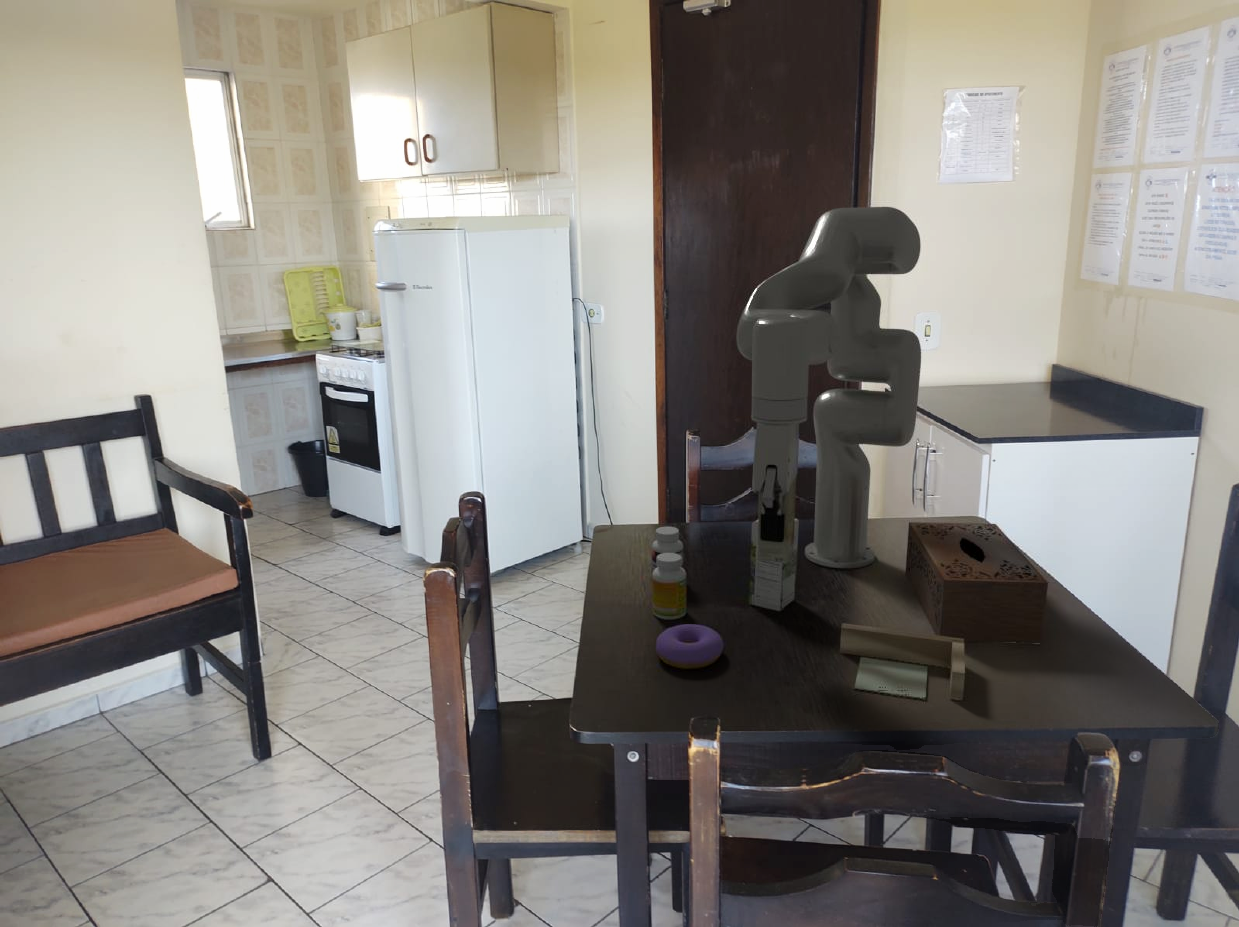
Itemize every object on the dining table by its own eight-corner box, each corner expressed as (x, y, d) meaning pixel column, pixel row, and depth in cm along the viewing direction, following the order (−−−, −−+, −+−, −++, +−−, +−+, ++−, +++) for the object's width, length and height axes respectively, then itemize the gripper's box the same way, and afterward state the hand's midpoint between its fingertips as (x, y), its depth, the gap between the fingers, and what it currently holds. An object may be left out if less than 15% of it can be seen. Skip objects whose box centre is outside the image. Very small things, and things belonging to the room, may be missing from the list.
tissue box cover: (1040, 646, 128) (1048, 582, 126) (938, 642, 130) (943, 580, 127) (990, 577, 153) (995, 523, 150) (905, 575, 155) (908, 522, 152)
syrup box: (764, 592, 148) (766, 511, 144) (796, 600, 145) (799, 517, 141) (748, 604, 144) (750, 521, 140) (781, 613, 140) (784, 527, 137)
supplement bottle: (683, 621, 138) (683, 564, 136) (650, 619, 139) (649, 562, 137) (688, 607, 143) (688, 551, 141) (655, 605, 144) (655, 550, 142)
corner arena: (841, 648, 128) (842, 623, 127) (961, 664, 123) (963, 638, 122) (831, 686, 118) (832, 659, 117) (962, 706, 112) (965, 678, 111)
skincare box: (787, 565, 122) (789, 481, 118) (756, 562, 123) (757, 478, 120) (794, 549, 127) (797, 468, 124) (765, 546, 129) (766, 466, 126)
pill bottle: (646, 581, 154) (645, 529, 151) (669, 574, 157) (668, 522, 155) (665, 591, 150) (665, 537, 147) (689, 583, 153) (689, 530, 150)
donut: (685, 678, 120) (680, 644, 120) (645, 666, 128) (640, 634, 127) (738, 657, 126) (734, 624, 125) (697, 646, 133) (693, 616, 133)
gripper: (764, 395, 128) (762, 511, 133) (738, 421, 113) (737, 551, 118) (815, 397, 126) (811, 515, 131) (797, 424, 110) (793, 557, 115)
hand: (776, 531), depth 124 cm, fingers closed on skincare box, 6 cm apart
